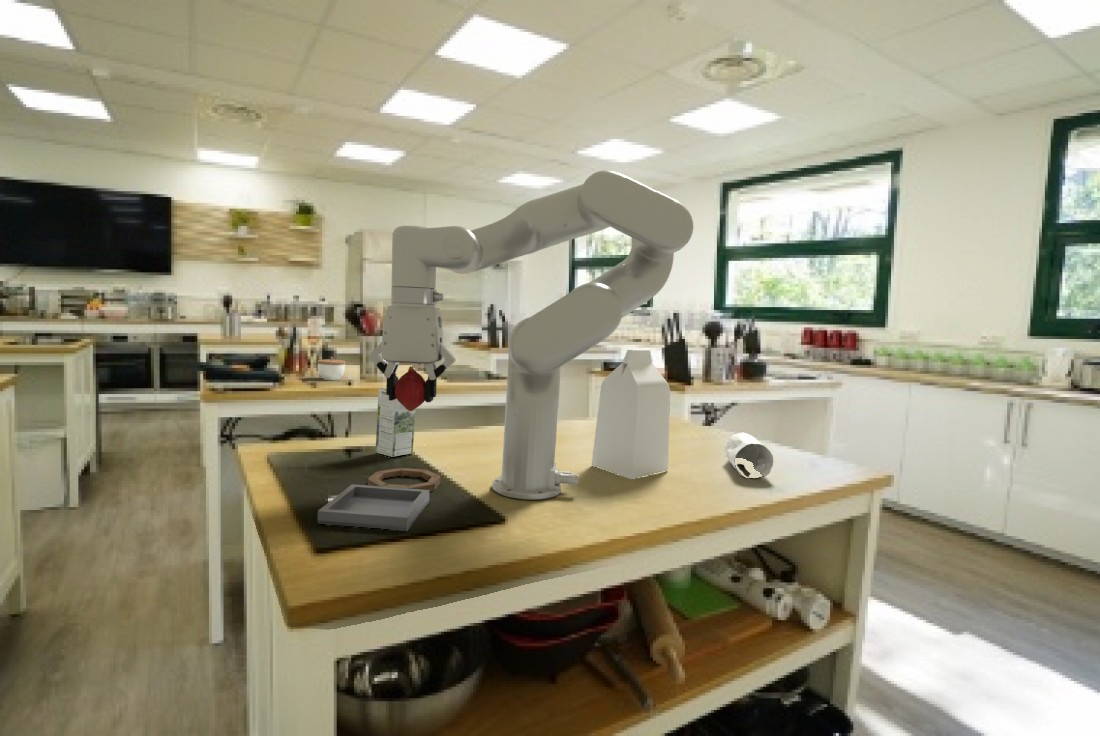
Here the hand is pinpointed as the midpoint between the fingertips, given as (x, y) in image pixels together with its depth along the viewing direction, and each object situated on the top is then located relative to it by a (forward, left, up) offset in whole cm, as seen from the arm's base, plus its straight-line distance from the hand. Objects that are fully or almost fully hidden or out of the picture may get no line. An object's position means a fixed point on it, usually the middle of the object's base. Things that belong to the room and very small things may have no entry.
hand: (411, 399), depth 102 cm
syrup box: (+9, -20, -16) cm, 27 cm away
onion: (0, 0, -2) cm, 2 cm away
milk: (-42, -22, -16) cm, 50 cm away
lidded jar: (+69, -130, -16) cm, 148 cm away
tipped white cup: (-68, -29, -16) cm, 76 cm away
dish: (+1, +15, -16) cm, 22 cm away
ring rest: (+1, 0, -16) cm, 16 cm away
